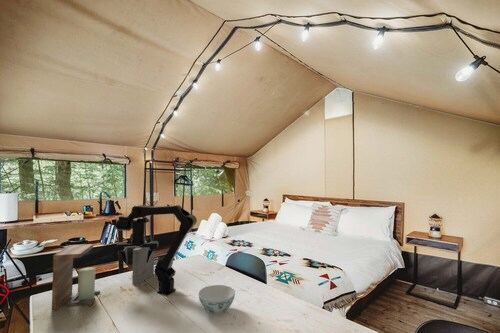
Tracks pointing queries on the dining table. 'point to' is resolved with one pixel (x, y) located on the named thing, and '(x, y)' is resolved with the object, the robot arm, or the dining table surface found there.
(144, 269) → the hip flask
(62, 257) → the walnut overhang
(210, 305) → the chinaware
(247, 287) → the dining table surface
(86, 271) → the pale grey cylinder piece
